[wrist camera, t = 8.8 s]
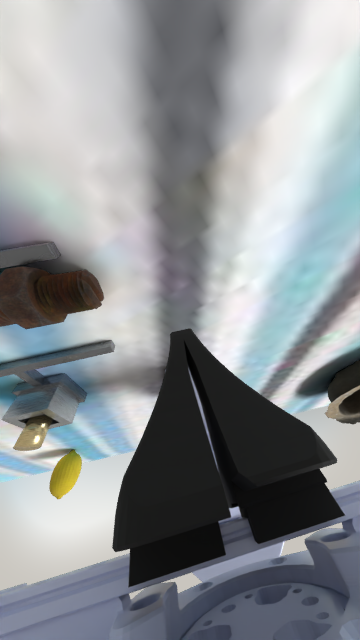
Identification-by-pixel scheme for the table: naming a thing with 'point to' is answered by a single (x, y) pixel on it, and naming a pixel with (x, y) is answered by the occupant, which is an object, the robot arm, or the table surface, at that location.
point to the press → (44, 362)
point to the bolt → (45, 296)
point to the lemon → (65, 474)
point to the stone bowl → (345, 395)
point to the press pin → (33, 433)
